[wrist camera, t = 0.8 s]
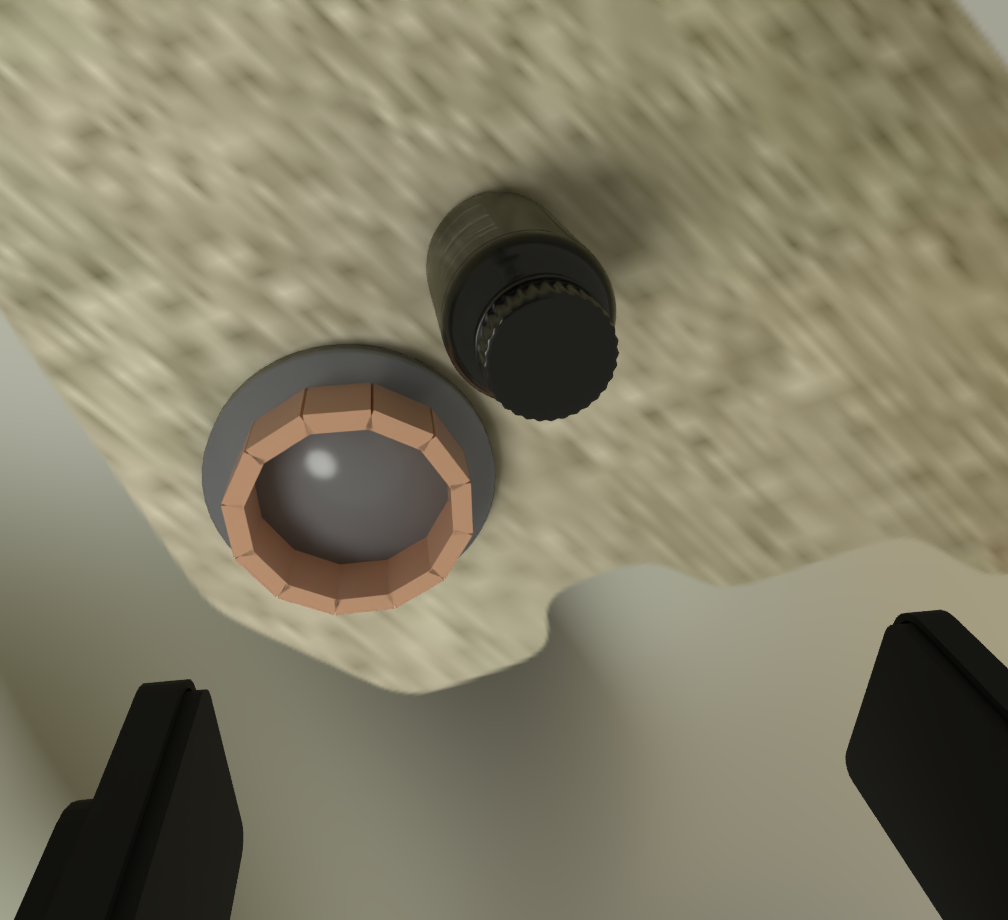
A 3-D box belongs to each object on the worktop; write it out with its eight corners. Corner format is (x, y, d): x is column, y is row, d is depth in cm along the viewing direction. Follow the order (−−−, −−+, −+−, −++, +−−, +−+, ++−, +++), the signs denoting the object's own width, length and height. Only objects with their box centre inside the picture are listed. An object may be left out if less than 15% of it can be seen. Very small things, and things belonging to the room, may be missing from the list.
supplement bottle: (443, 346, 37) (470, 467, 26) (409, 207, 33) (425, 284, 23) (576, 315, 37) (654, 423, 27) (557, 174, 33) (638, 236, 23)
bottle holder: (175, 355, 35) (152, 392, 31) (488, 334, 37) (501, 367, 33) (237, 598, 42) (224, 650, 39) (494, 570, 44) (505, 618, 41)
